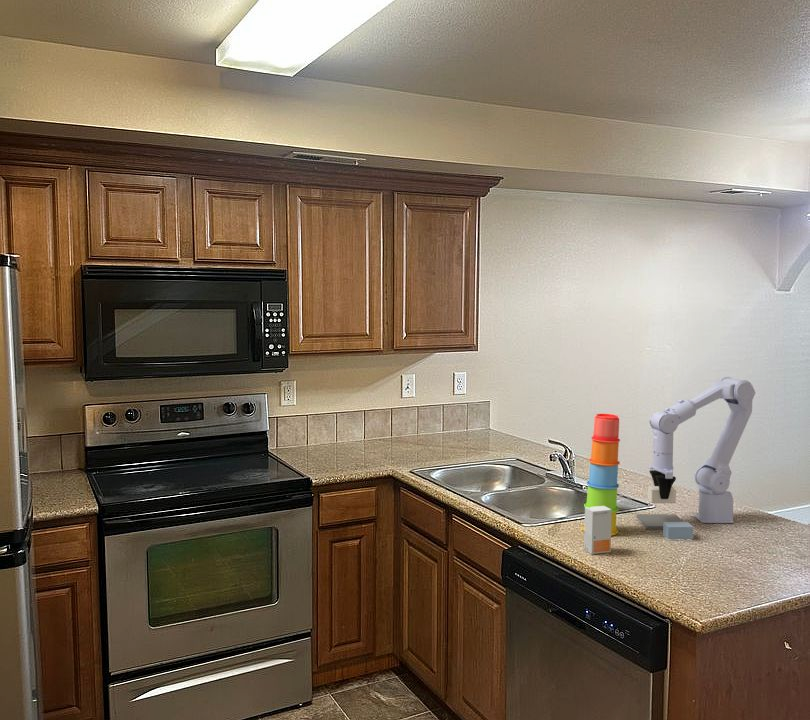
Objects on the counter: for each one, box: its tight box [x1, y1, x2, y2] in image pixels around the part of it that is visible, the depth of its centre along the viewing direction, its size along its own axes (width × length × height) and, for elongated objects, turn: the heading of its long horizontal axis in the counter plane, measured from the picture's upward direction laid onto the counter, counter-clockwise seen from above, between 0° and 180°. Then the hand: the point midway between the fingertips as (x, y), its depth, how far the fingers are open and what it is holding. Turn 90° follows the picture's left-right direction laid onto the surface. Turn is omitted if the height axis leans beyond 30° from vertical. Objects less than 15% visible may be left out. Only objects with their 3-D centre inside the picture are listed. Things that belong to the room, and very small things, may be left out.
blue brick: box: [662, 521, 694, 540], centre depth 218 cm, size 7×4×4 cm, turn 89°
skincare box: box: [583, 506, 612, 555], centre depth 207 cm, size 6×4×12 cm
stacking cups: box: [581, 413, 621, 537], centre depth 223 cm, size 10×10×35 cm
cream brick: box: [647, 485, 677, 504], centre depth 231 cm, size 7×4×4 cm, turn 87°
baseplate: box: [636, 513, 684, 531], centre depth 231 cm, size 12×12×1 cm
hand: (661, 496), depth 231 cm, fingers closed on cream brick, 4 cm apart
